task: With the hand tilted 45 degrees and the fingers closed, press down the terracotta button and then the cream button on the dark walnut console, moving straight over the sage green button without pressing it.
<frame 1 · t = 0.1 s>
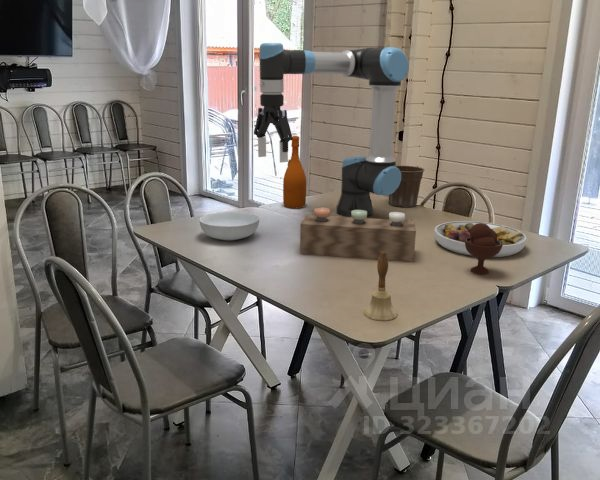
hand: (272, 159, 190), 28 cm above the table, tool pointing down, fingers open, 13 cm apart
wine bottle: (294, 206, 245), on the table
bowl: (478, 246, 196), on the table
terracotta button: (321, 218, 186), point 11 cm above the table, slide at 0.0 cm
ice cream bowl: (479, 272, 171), on the table
serving bowl: (229, 237, 201), on the table
cream button: (396, 222, 182), point 11 cm above the table, slide at 0.0 cm
sage button: (358, 220, 184), point 11 cm above the table, slide at 0.0 cm
hand bell: (380, 314, 141), on the table
plant pot: (402, 204, 252), on the table
console: (357, 251, 187), on the table
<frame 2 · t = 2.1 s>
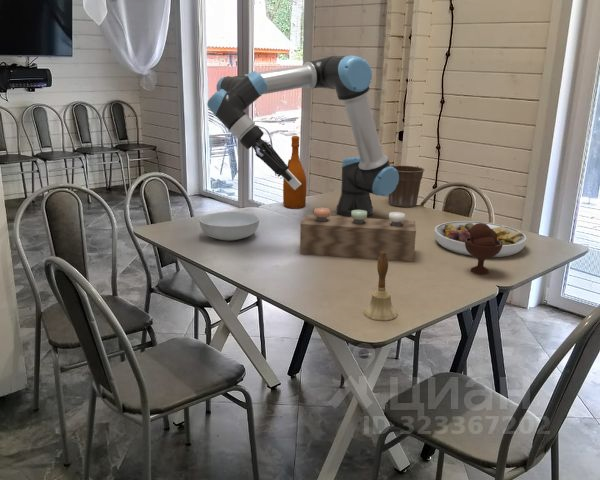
hand: (298, 187, 183), 21 cm above the table, tool tilted 45°, fingers closed
nothing on the table moved.
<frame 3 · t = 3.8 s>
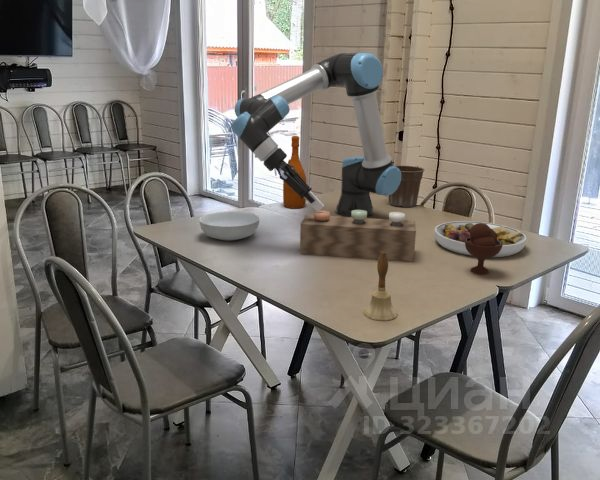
hand: (320, 208, 185), 14 cm above the table, tool tilted 45°, fingers closed
terracotta button: (321, 221, 186), point 10 cm above the table, slide at 1.0 cm, touching gripper
everything else where it was.
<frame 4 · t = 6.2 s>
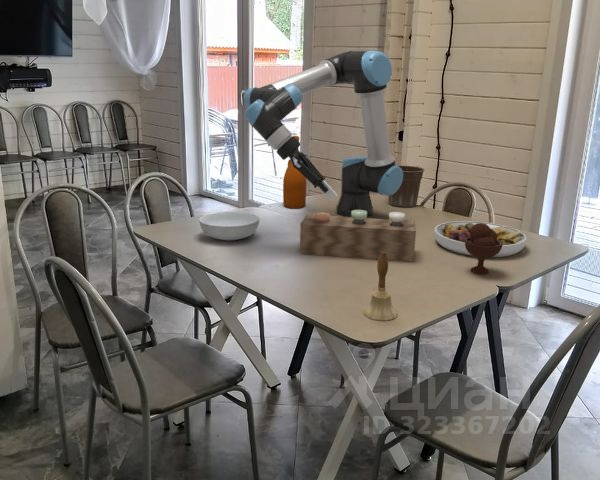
hand: (334, 198, 182), 18 cm above the table, tool tilted 45°, fingers closed
terracotta button: (321, 223, 186), point 9 cm above the table, slide at 1.6 cm, touching console
everything else where it was.
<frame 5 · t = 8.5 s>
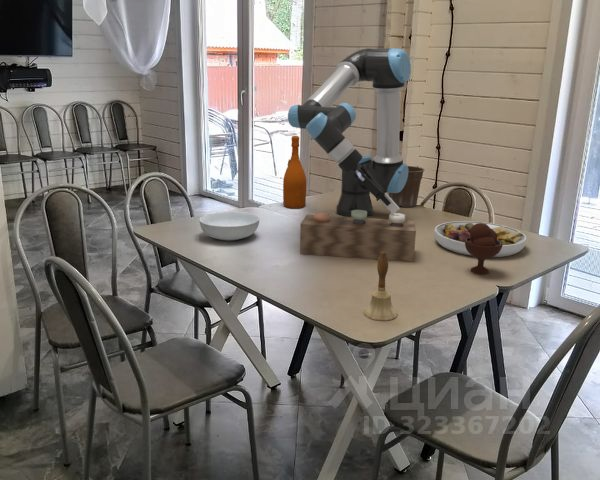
hand: (396, 211, 181), 14 cm above the table, tool tilted 45°, fingers closed
cream button: (396, 224, 182), point 10 cm above the table, slide at 0.4 cm, touching gripper
everything else where it was.
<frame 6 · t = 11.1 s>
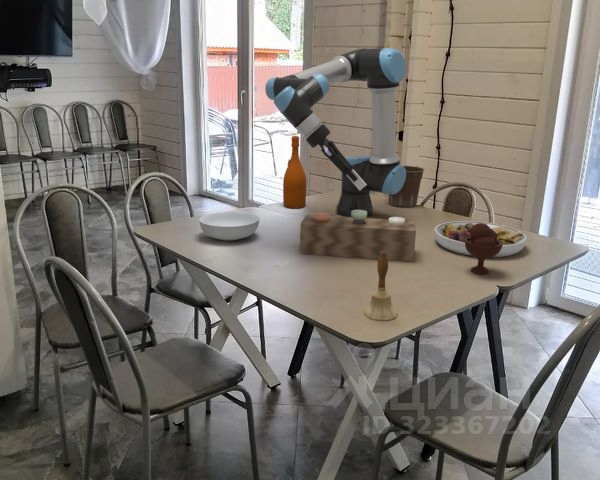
hand: (363, 187, 181), 21 cm above the table, tool tilted 45°, fingers closed
cream button: (396, 227, 182), point 9 cm above the table, slide at 1.6 cm, touching console
everything else where it was.
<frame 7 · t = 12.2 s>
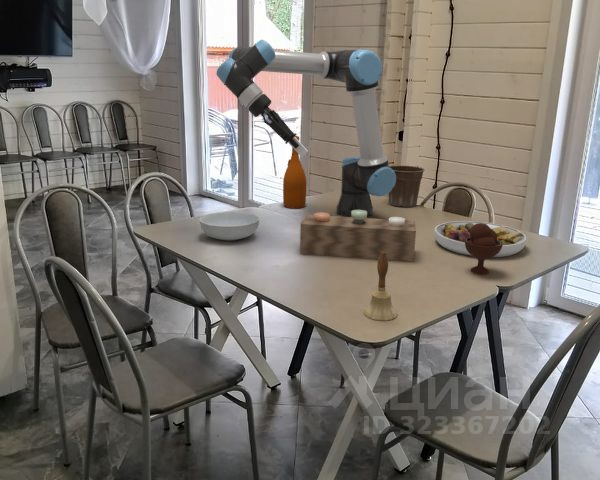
hand: (305, 154, 188), 30 cm above the table, tool tilted 45°, fingers closed
nothing on the table moved.
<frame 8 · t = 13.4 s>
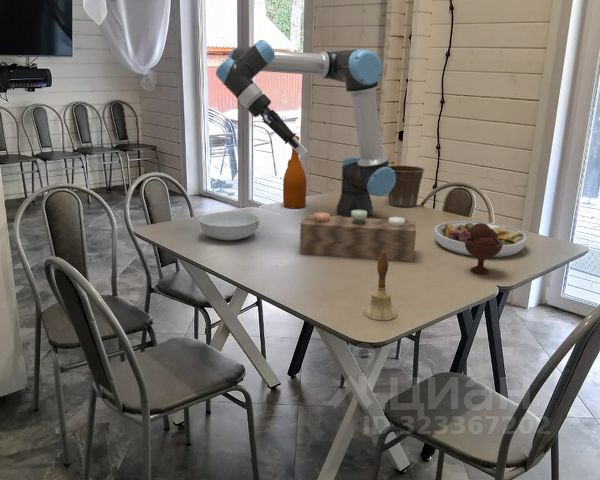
hand: (304, 154, 188), 30 cm above the table, tool tilted 45°, fingers closed
nothing on the table moved.
at the end: terracotta button slide at 1.6 cm; cream button slide at 1.6 cm; sage button slide at 0.0 cm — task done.
